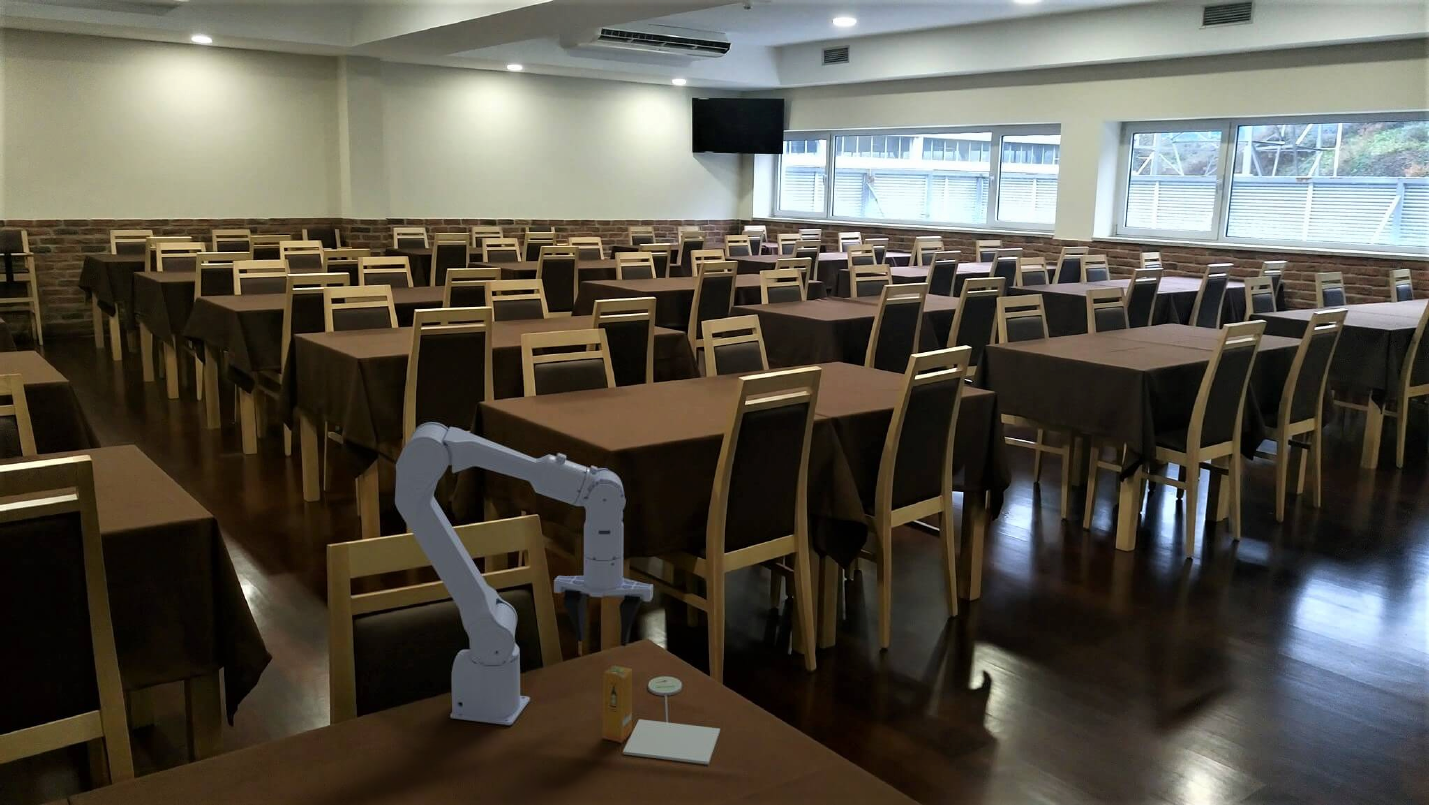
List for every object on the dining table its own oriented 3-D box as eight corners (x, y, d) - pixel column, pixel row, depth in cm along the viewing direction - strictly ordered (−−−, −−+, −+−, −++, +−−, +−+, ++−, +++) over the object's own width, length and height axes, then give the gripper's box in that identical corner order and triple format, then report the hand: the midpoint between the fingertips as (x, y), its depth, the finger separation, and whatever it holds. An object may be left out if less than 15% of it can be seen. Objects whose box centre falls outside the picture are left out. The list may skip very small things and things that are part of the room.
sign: (648, 726, 150) (648, 676, 165) (648, 732, 150) (648, 681, 165) (685, 726, 151) (681, 676, 165) (684, 731, 151) (681, 681, 165)
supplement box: (633, 733, 149) (634, 668, 147) (621, 744, 146) (622, 678, 144) (613, 727, 150) (614, 663, 148) (601, 738, 147) (601, 673, 145)
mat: (622, 754, 143) (622, 751, 143) (639, 721, 152) (639, 719, 152) (708, 764, 141) (708, 761, 141) (720, 731, 150) (720, 728, 150)
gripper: (546, 559, 149) (547, 647, 152) (645, 568, 146) (644, 657, 149) (562, 542, 156) (562, 627, 158) (656, 551, 153) (655, 637, 156)
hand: (603, 641), depth 154 cm, fingers open, 6 cm apart
